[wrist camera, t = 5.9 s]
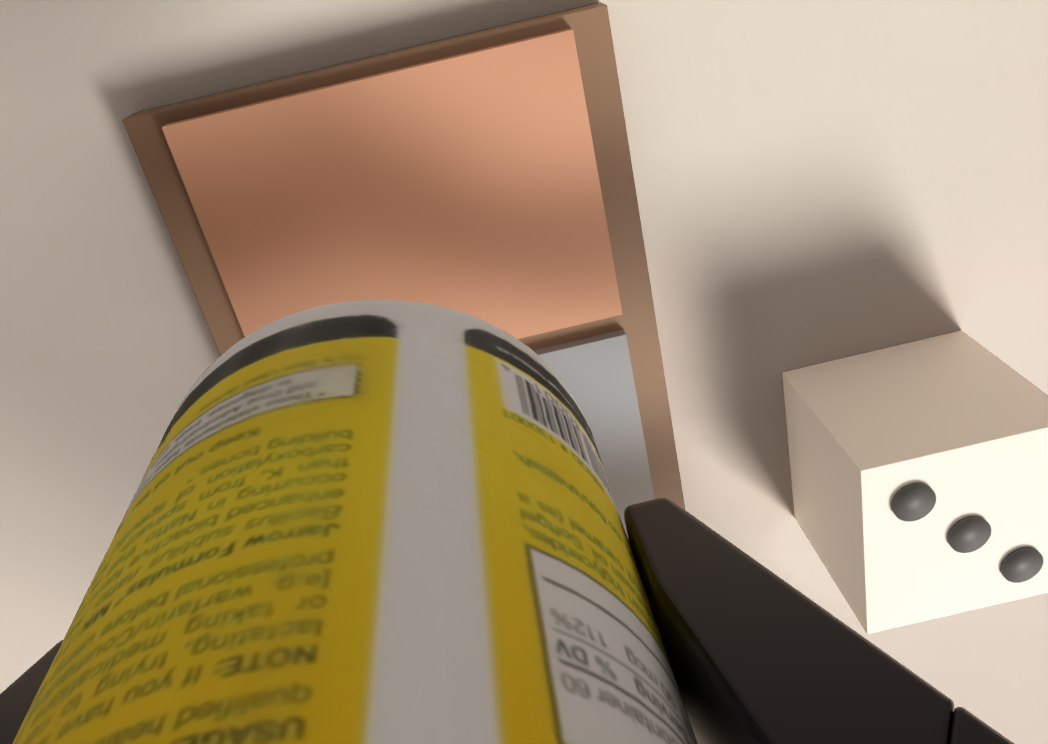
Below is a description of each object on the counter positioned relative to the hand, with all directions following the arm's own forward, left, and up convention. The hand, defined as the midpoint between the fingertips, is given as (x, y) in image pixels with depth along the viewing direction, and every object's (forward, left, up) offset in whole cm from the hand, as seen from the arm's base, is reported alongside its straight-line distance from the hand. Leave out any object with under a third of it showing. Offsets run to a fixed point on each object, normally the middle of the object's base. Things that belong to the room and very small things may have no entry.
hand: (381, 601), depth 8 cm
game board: (-6, 0, -12) cm, 14 cm away
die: (-8, -10, -12) cm, 18 cm away
